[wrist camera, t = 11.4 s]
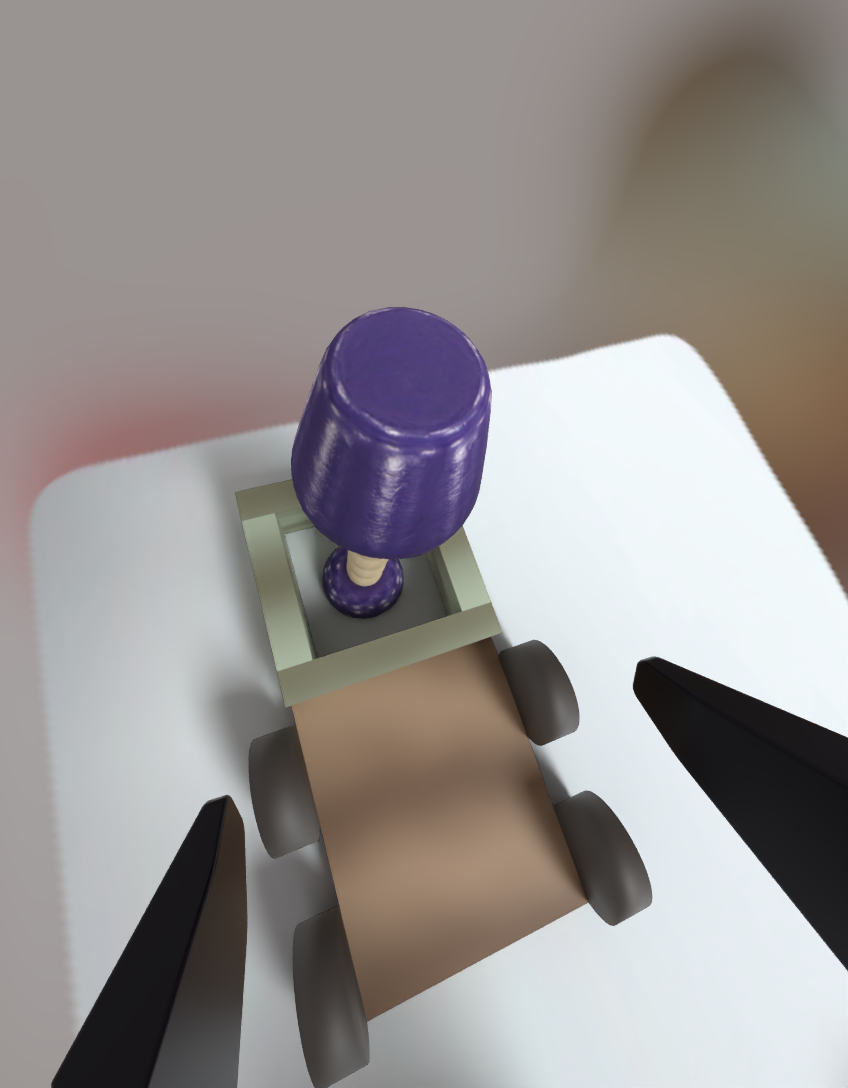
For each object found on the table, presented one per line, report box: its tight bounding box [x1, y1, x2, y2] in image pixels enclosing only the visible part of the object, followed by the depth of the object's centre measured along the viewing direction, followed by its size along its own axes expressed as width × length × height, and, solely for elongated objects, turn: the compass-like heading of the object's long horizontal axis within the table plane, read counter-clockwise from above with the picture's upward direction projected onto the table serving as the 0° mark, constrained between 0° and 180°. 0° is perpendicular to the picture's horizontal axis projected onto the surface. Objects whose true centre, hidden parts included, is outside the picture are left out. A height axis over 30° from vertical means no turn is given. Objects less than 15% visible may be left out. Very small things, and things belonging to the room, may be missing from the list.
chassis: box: [235, 480, 652, 1088], centre depth 19 cm, size 22×13×4 cm, turn 19°
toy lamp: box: [291, 307, 492, 618], centre depth 15 cm, size 5×5×17 cm
